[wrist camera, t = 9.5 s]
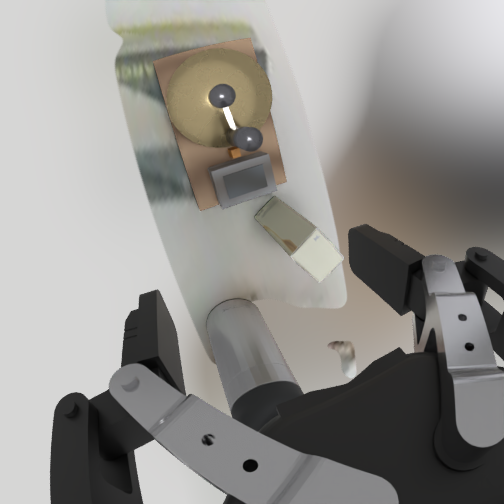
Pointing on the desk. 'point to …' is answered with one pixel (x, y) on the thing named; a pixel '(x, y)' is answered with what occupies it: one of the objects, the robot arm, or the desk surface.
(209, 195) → the tan piece
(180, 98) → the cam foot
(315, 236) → the skincare box
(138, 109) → the desk surface
